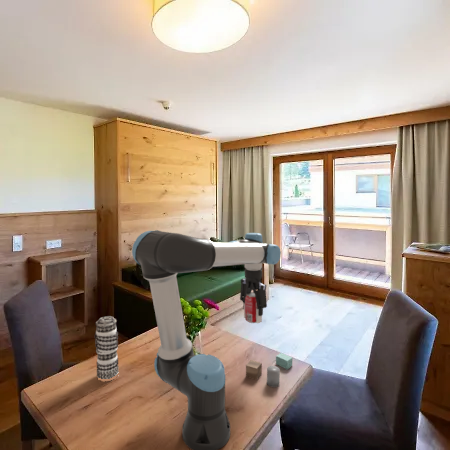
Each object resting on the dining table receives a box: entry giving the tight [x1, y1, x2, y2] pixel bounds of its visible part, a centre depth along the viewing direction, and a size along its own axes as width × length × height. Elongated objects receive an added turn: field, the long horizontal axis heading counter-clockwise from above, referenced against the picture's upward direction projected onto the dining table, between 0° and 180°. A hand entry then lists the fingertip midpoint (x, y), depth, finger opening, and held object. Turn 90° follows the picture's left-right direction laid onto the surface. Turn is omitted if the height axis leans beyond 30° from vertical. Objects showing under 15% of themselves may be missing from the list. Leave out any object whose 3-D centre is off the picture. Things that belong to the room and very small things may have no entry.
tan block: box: [245, 359, 263, 381], centre depth 127 cm, size 5×5×5 cm
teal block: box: [275, 352, 293, 370], centre depth 135 cm, size 4×6×4 cm, turn 45°
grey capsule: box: [266, 365, 281, 388], centre depth 121 cm, size 5×5×6 cm
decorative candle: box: [94, 315, 120, 379], centre depth 125 cm, size 9×9×25 cm
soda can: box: [244, 291, 258, 324], centre depth 132 cm, size 7×7×12 cm
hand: (252, 319), depth 133 cm, fingers closed on soda can, 7 cm apart
